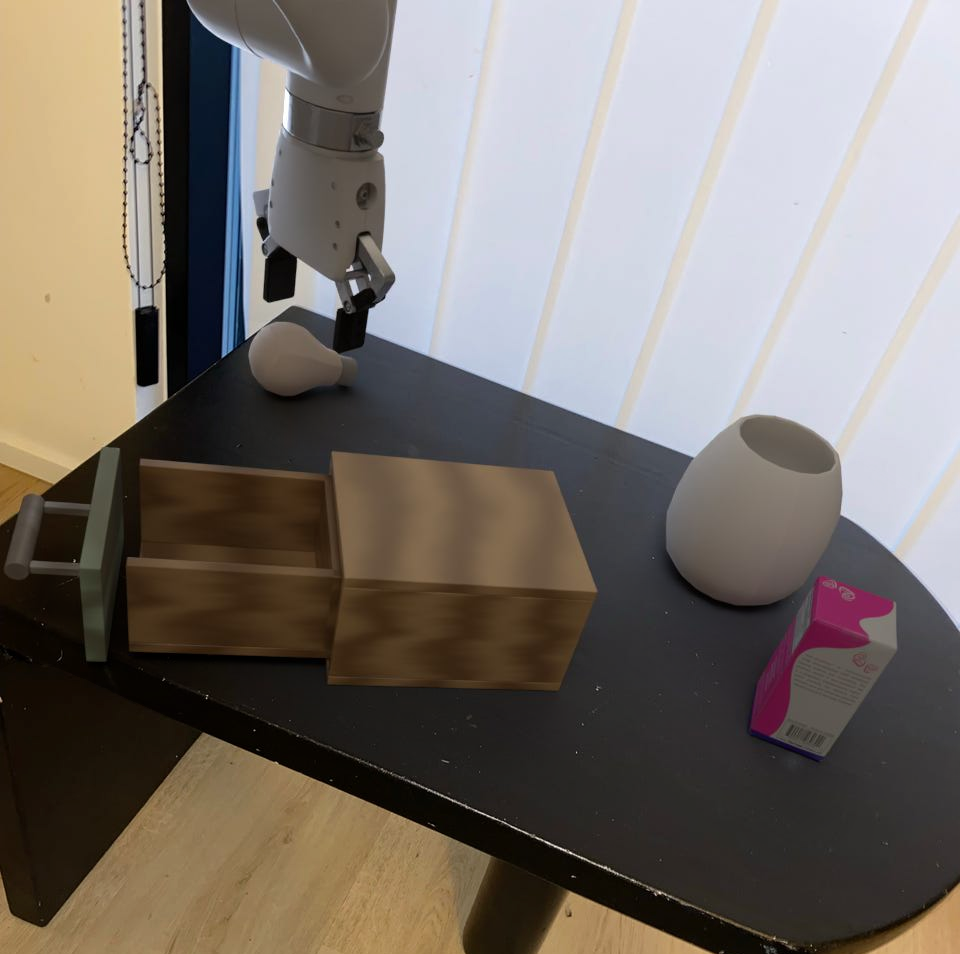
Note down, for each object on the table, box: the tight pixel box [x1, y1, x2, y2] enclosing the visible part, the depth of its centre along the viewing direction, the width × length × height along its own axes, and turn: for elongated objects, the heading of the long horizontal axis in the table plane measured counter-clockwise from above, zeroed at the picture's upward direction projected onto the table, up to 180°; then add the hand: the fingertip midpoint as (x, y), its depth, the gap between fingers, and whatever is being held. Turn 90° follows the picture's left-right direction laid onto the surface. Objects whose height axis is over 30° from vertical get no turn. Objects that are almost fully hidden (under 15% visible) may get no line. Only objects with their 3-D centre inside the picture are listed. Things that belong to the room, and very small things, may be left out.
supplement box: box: [747, 574, 898, 763], centre depth 69 cm, size 6×6×12 cm
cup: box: [665, 413, 844, 606], centre depth 81 cm, size 13×13×14 cm
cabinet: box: [324, 450, 598, 692], centre depth 70 cm, size 17×14×10 cm
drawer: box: [3, 446, 342, 663], centre depth 65 cm, size 20×12×8 cm, turn 99°
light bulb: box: [247, 321, 359, 397], centre depth 91 cm, size 7×7×11 cm
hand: (312, 323), depth 88 cm, fingers open, 9 cm apart
